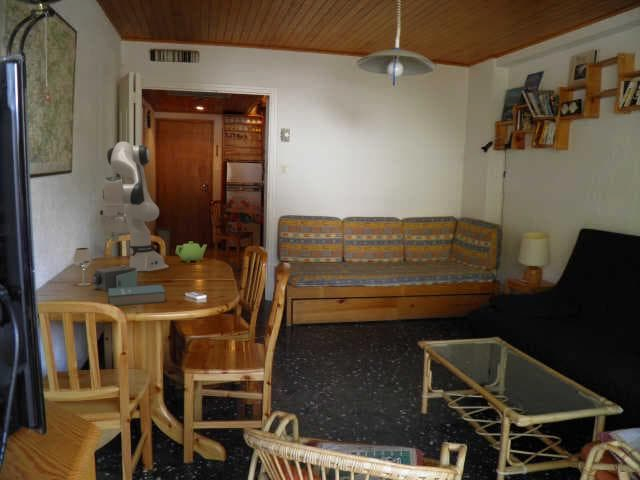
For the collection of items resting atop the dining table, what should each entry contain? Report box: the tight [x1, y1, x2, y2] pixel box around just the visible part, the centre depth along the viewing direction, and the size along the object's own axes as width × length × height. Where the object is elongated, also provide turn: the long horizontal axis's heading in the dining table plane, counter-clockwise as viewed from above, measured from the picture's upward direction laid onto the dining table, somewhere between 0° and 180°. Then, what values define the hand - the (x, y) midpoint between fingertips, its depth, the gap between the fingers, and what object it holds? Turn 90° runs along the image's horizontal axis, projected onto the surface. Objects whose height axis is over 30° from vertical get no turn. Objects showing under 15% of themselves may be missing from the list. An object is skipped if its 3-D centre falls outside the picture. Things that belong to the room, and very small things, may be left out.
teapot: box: [174, 241, 208, 264], centre depth 331 cm, size 20×13×13 cm
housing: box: [92, 264, 136, 292], centre depth 256 cm, size 18×10×10 cm, turn 139°
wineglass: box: [73, 247, 93, 287], centre depth 261 cm, size 8×8×18 cm
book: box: [107, 284, 166, 307], centre depth 232 cm, size 23×16×5 cm
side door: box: [116, 270, 139, 288], centre depth 252 cm, size 15×2×8 cm, turn 164°
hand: (115, 241), depth 246 cm, fingers closed
